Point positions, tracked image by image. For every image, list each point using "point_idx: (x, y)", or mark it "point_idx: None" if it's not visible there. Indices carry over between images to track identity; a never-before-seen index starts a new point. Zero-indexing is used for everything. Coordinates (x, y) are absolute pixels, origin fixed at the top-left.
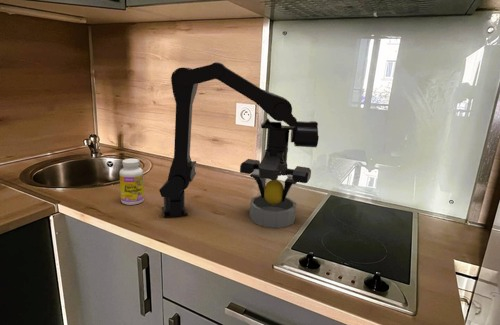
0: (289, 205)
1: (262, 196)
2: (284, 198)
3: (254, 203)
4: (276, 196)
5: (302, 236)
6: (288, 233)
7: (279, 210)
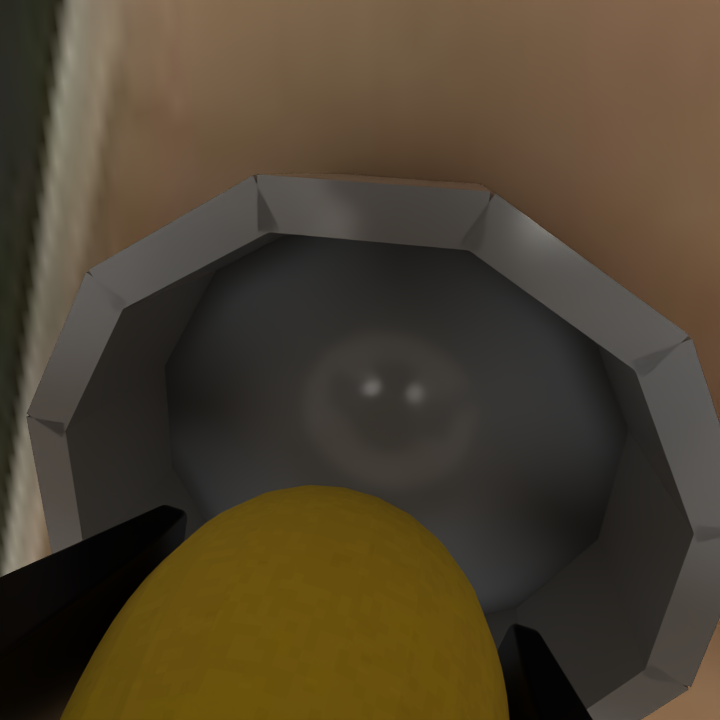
0: None
1: (532, 650)
2: (107, 533)
3: (620, 602)
4: (229, 545)
5: (35, 29)
6: (182, 68)
7: None
